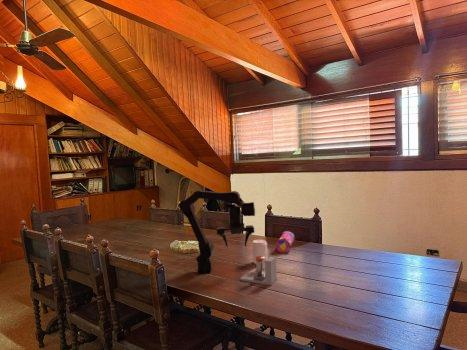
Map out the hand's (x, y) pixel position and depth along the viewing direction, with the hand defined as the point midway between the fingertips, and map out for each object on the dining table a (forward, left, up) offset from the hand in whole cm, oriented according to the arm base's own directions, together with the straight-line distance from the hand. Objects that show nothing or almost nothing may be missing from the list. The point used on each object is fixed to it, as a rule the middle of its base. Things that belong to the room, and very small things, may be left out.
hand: (236, 246), depth 168 cm
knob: (+12, -3, -12) cm, 17 cm away
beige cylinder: (+13, +12, -13) cm, 22 cm away
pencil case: (+32, +37, -13) cm, 51 cm away
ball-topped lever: (+10, -14, -12) cm, 21 cm away
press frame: (+12, -9, -13) cm, 20 cm away
